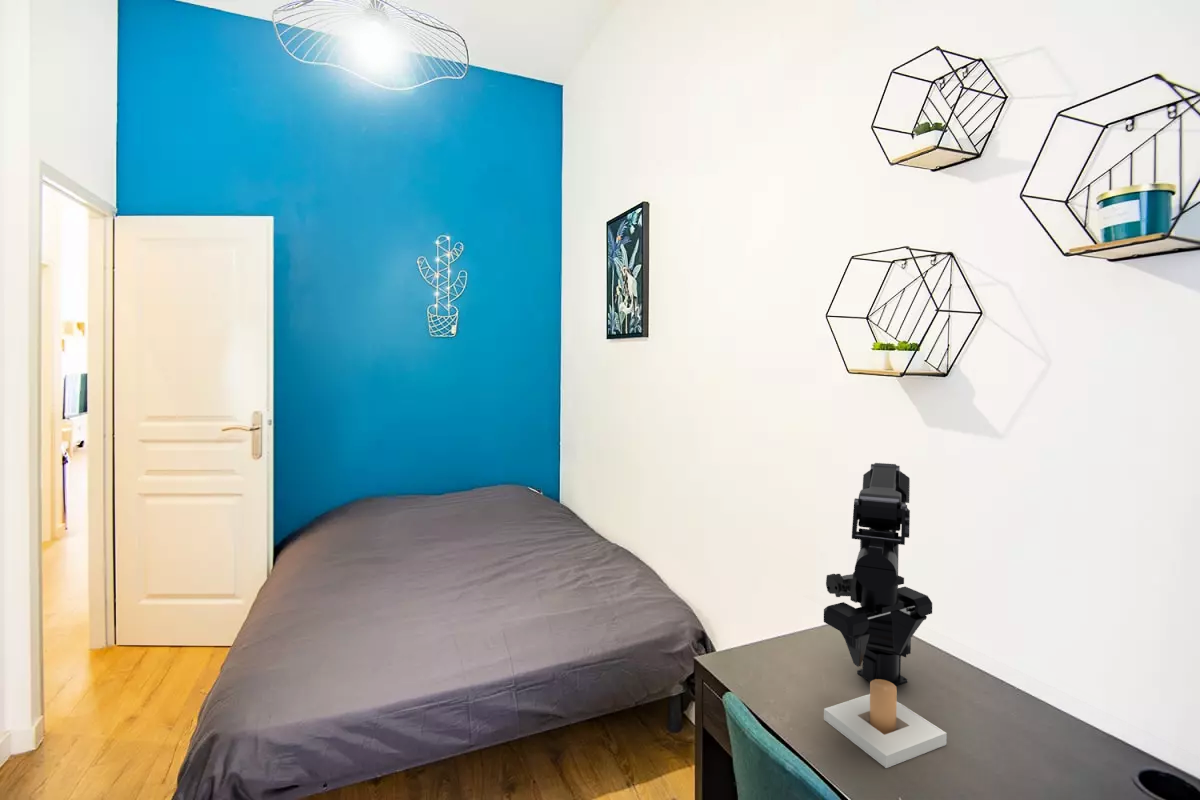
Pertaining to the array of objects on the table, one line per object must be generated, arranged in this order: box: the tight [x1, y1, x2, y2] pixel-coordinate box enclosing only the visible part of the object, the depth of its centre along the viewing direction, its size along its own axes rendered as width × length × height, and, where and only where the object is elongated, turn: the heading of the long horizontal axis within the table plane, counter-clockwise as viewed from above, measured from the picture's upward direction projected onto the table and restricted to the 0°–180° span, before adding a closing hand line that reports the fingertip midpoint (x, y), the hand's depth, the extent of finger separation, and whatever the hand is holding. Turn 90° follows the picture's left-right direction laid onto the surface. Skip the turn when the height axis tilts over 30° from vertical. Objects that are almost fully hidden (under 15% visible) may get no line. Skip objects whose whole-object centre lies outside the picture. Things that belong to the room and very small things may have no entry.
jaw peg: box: [869, 679, 898, 735], centre depth 97 cm, size 4×4×8 cm
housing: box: [823, 693, 948, 769], centre depth 98 cm, size 13×13×2 cm
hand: (877, 658), depth 98 cm, fingers open, 9 cm apart
